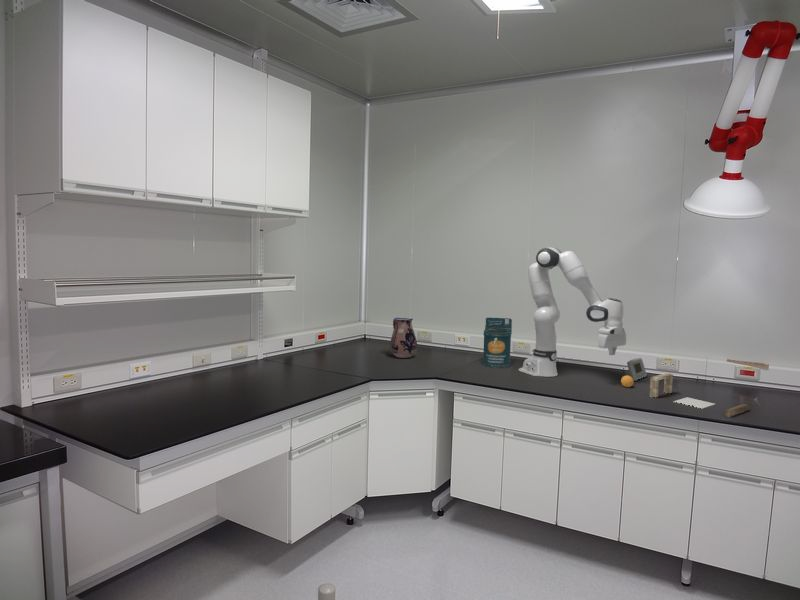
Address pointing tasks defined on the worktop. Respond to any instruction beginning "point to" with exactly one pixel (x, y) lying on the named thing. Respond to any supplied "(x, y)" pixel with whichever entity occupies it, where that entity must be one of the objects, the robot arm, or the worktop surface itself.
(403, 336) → the ceramic pitcher
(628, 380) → the ball
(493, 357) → the teal food package
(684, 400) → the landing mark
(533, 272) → the robot arm
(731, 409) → the stopper
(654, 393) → the bridge
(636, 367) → the digital clock
